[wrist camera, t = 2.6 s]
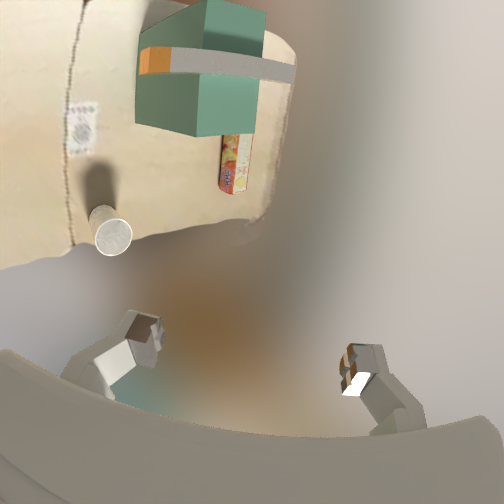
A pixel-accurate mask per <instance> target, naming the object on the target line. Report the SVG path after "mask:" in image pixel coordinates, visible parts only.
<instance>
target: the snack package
mask: <svg viewBox="0 0 504 504" xmlns="http://www.w3.org/2000/svg"><path fill="white" fill-rule="evenodd" d="M253 135H254V133H252V134H232V135H224V140H223V151H222V163H221V174H220V183H219V188H220V189H221V190H222V191H224V192H226V193H228V194H232V195H233V194H238V193H242V192H244V191H246V189H247V180H248V171H249V164H250V157H251V149H252V141H253Z"/></svg>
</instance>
